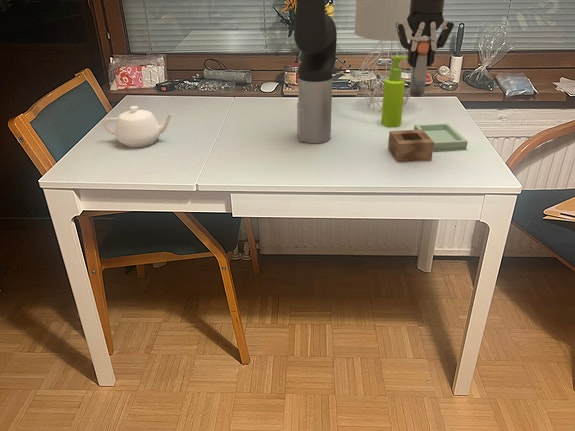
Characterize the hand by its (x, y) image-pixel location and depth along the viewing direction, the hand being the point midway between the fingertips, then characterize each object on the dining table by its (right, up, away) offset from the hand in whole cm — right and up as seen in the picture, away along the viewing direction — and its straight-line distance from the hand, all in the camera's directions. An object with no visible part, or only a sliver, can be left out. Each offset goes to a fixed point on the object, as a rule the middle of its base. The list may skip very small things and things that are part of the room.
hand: (420, 65), depth 129 cm
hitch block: (0, -20, +11) cm, 23 cm away
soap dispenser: (0, -9, +31) cm, 33 cm away
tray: (+10, -16, +19) cm, 27 cm away
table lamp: (0, -1, +45) cm, 45 cm away
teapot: (-74, -16, +22) cm, 78 cm away
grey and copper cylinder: (0, -6, +4) cm, 7 cm away
